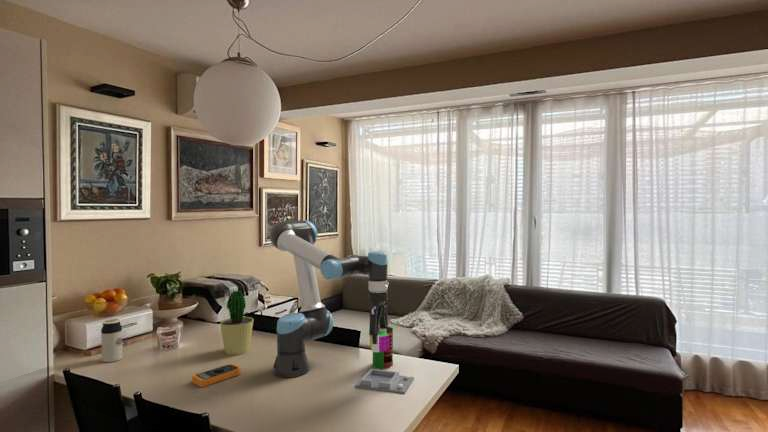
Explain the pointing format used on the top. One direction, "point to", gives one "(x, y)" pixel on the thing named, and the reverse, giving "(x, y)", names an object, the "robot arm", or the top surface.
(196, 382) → the multimeter
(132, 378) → the top surface
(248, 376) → the top surface
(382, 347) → the puzzle toy
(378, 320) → the robot arm
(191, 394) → the top surface
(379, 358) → the motor
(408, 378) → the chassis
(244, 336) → the potted cactus
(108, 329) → the travel mug
